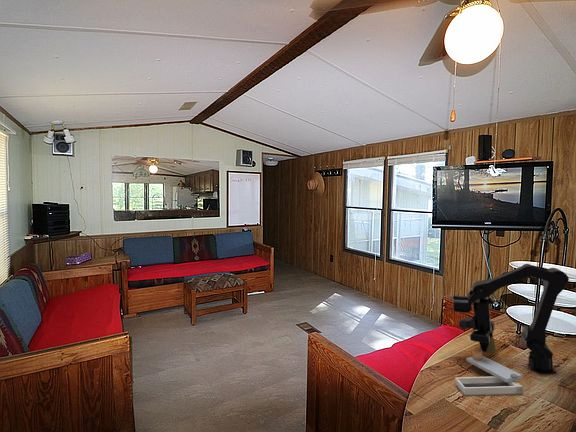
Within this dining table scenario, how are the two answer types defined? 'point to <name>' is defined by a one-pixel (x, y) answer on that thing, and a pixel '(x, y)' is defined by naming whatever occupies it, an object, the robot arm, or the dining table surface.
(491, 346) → the olive brown bulbous cylinder
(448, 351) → the dining table surface
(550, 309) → the robot arm
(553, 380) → the dining table surface
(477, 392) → the white tray with rod
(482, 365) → the cover
